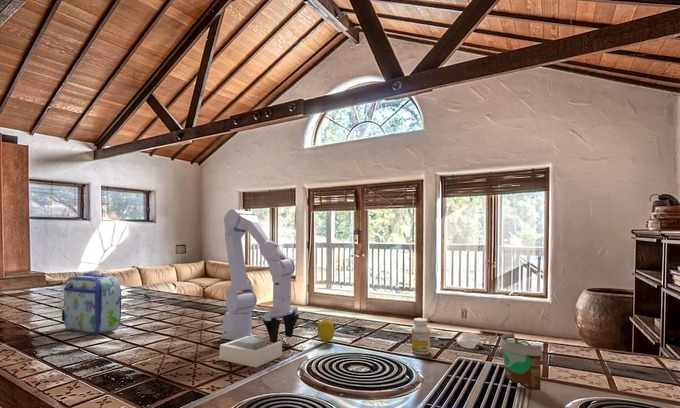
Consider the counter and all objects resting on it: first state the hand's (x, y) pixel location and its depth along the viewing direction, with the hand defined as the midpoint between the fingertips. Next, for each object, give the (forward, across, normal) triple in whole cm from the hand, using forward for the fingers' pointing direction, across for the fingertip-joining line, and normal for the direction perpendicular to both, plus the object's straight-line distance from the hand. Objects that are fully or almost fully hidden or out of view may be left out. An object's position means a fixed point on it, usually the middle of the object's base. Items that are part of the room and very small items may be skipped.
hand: (281, 339), depth 121 cm
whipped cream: (+2, +30, -52) cm, 60 cm away
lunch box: (+2, -20, +74) cm, 77 cm away
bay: (+2, -14, 0) cm, 14 cm away
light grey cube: (+2, -14, 0) cm, 14 cm away
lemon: (+2, +10, -11) cm, 15 cm away
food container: (+2, +4, -68) cm, 68 cm away
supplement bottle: (+2, +16, -41) cm, 44 cm away
